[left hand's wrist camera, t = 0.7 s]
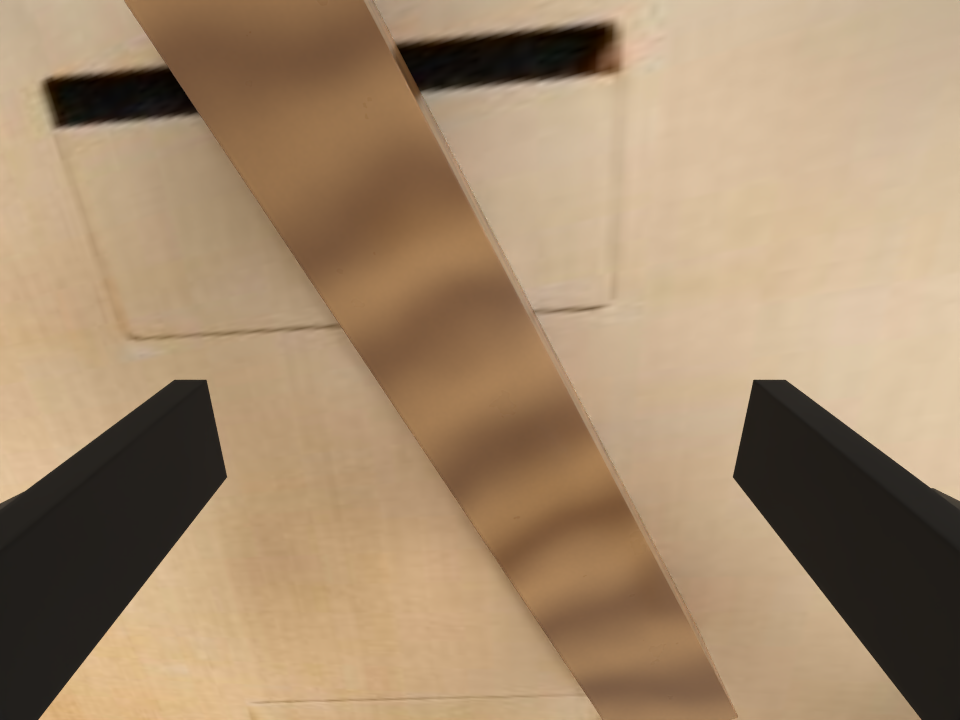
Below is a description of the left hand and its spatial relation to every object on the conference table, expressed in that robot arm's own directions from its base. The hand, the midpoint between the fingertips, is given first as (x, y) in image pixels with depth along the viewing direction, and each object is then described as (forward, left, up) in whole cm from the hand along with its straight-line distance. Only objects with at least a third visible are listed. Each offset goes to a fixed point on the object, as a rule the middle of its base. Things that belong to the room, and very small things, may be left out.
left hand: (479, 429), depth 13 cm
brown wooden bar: (+7, +6, -21) cm, 23 cm away
